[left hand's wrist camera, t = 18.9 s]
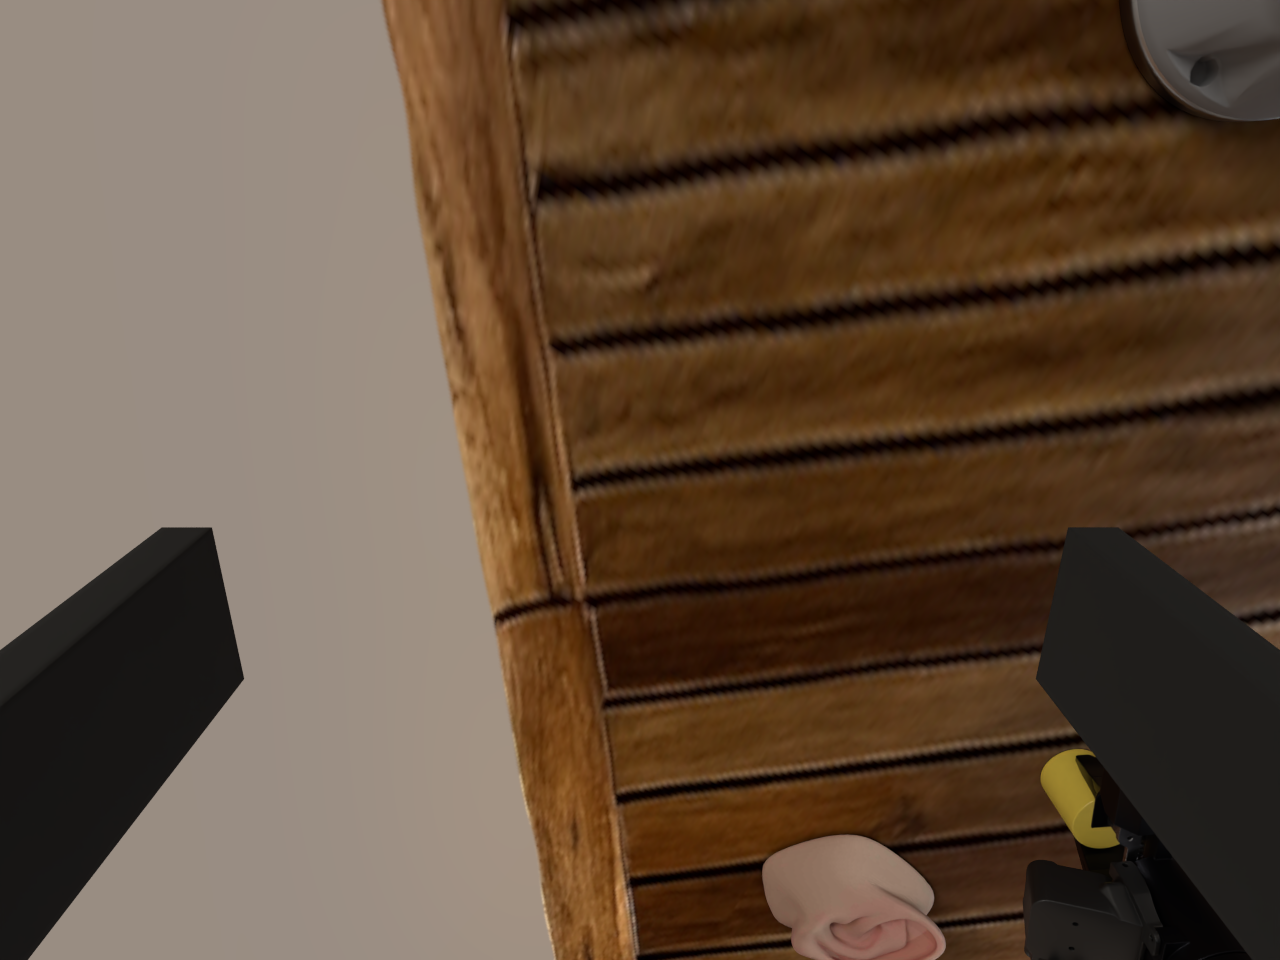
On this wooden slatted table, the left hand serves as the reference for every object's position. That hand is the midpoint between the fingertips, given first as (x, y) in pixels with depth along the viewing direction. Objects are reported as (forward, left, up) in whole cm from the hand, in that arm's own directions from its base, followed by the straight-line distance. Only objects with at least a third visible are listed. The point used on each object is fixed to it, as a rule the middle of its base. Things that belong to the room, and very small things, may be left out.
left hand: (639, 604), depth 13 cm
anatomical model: (-7, +49, -36) cm, 61 cm away
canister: (-25, +41, -36) cm, 60 cm away
